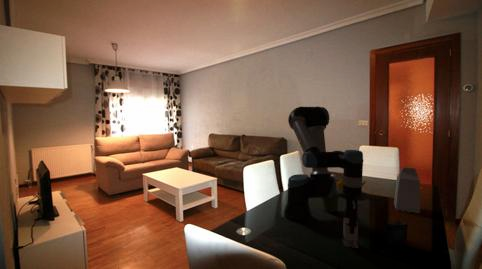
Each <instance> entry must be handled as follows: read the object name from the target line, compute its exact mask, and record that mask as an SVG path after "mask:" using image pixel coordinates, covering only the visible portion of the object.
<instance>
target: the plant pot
mask: <svg viewBox="0 0 482 269" xmlns="http://www.w3.org/2000/svg"><path fill="white" fill-rule="evenodd" d="M340 195H341V194H340V192H339V191H336V192H335V194H334V195H333V196H332V197H328V198H321V200H322V203H323V209H324V211H326V212H330V213H333V212H337V211H338V210H339V209H338V206H339V197H340Z"/></svg>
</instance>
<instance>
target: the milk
mask: <svg viewBox="0 0 482 269" xmlns="http://www.w3.org/2000/svg"><path fill="white" fill-rule="evenodd" d="M393 199H394V200H393V205H395V206H394V208H396V209H395V211H398V210H401V211H400V212H405V211H407V212H406V213H411V212H415V213H414V214H417V213H420V214H421V181H420V178H419V175H418V172H417V170H416V168H415V167H409V166H408V167H407V166H402V168H401V170H400V171H399V173H397V176H396V182H395V193H394V198H393Z"/></svg>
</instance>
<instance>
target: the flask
mask: <svg viewBox="0 0 482 269" xmlns="http://www.w3.org/2000/svg"><path fill="white" fill-rule="evenodd" d="M408 225H409V224H408V223H407V222H406V221H401V220H400V219H396V221H394V222H392V221H390V222H387V234H386V235H387V237H386V242H387V243H388V244H392V245H399V244H401V245H402V244H406V243H407V242H408Z"/></svg>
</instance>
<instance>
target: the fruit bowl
mask: <svg viewBox="0 0 482 269" xmlns="http://www.w3.org/2000/svg"><path fill="white" fill-rule="evenodd" d="M335 181H336V191H339V192H340V194H339V195H343V196H346V195H345V194H344V193H343V185H344V184H343V179H342V177H340V178H339V179H335ZM365 184H366V181H364V182H363V181H362V186H361V187H362V188H363V186H364V185H365Z"/></svg>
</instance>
